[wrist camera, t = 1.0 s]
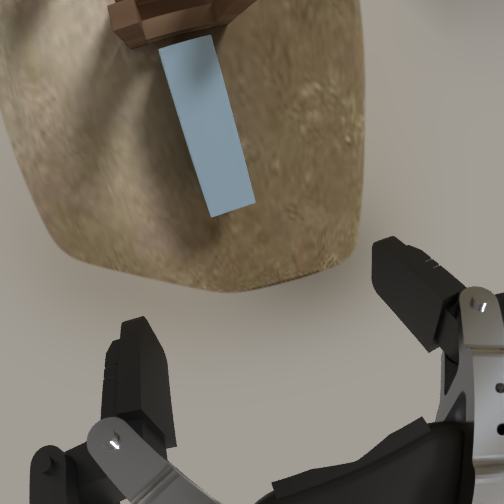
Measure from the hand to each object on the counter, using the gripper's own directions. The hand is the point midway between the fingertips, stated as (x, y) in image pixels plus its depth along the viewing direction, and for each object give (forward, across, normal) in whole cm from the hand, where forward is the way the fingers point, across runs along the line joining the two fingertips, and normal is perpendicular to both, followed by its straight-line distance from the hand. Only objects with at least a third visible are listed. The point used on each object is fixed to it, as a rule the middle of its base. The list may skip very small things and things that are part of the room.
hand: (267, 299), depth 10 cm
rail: (+15, 0, -4) cm, 16 cm away
